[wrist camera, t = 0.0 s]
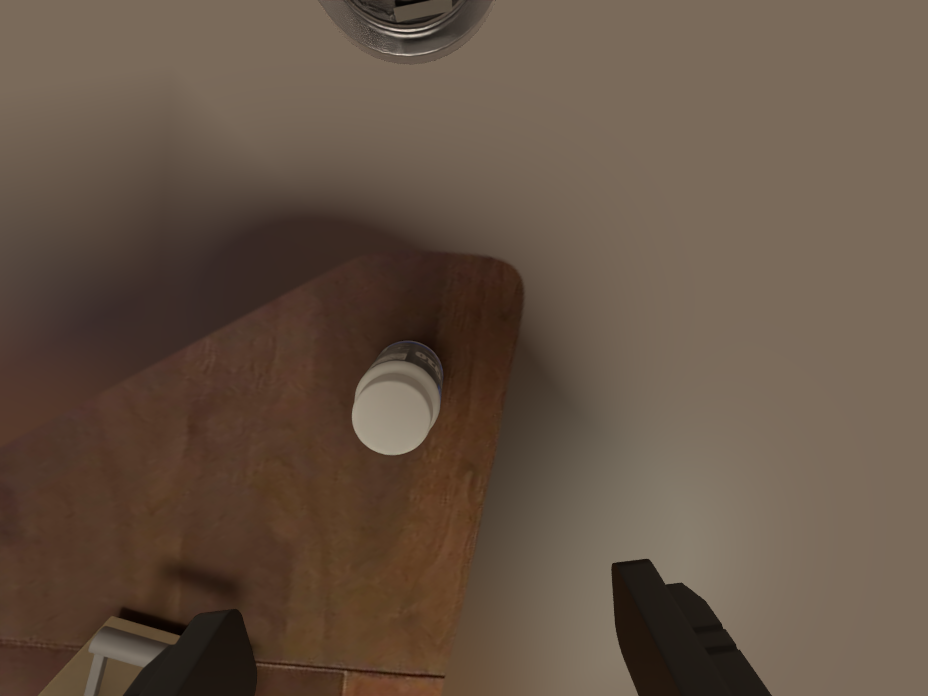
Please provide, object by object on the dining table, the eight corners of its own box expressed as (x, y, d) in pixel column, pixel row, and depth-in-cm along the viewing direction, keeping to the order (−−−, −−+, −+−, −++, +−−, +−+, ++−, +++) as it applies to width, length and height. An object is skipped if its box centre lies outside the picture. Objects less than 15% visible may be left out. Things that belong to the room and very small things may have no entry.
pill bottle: (454, 391, 31) (453, 444, 23) (390, 416, 31) (368, 476, 23) (427, 328, 30) (416, 359, 22) (362, 354, 30) (327, 394, 22)
